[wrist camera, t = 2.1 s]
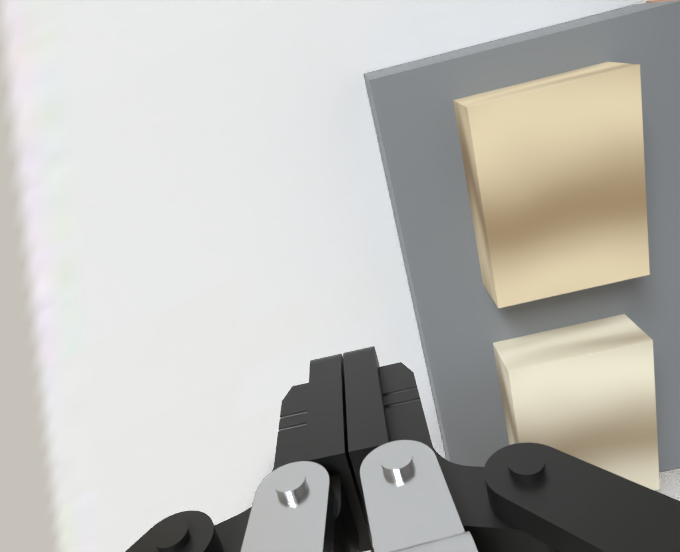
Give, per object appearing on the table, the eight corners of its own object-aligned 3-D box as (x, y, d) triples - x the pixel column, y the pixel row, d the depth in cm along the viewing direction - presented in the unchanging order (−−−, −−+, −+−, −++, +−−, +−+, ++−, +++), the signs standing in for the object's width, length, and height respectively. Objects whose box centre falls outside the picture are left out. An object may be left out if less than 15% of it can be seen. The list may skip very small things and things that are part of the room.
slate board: (363, 74, 26) (369, 80, 23) (634, 4, 26) (686, -1, 22) (446, 461, 35) (461, 512, 31) (654, 417, 34) (694, 465, 30)
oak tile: (453, 100, 23) (467, 107, 21) (607, 61, 23) (640, 64, 20) (483, 284, 26) (498, 308, 24) (620, 253, 26) (649, 274, 23)
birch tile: (492, 342, 27) (508, 371, 25) (624, 313, 27) (652, 340, 24) (514, 478, 30) (530, 515, 28) (633, 453, 30) (659, 489, 27)
